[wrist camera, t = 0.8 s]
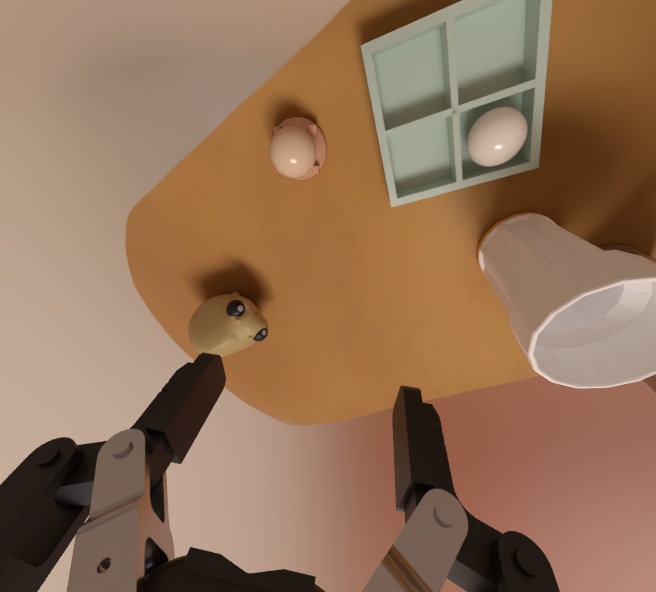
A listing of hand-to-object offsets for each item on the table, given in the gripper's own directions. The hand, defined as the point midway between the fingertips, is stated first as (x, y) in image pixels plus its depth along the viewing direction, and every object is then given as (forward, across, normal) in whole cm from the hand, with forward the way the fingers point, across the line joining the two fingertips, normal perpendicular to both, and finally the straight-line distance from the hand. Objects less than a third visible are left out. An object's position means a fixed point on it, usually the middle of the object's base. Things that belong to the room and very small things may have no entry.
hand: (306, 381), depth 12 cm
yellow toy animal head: (+28, +17, +18) cm, 37 cm away
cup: (+28, -21, +3) cm, 35 cm away
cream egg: (+27, -13, -9) cm, 31 cm away
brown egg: (+27, +7, -6) cm, 28 cm away
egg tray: (+28, -8, -11) cm, 31 cm away
